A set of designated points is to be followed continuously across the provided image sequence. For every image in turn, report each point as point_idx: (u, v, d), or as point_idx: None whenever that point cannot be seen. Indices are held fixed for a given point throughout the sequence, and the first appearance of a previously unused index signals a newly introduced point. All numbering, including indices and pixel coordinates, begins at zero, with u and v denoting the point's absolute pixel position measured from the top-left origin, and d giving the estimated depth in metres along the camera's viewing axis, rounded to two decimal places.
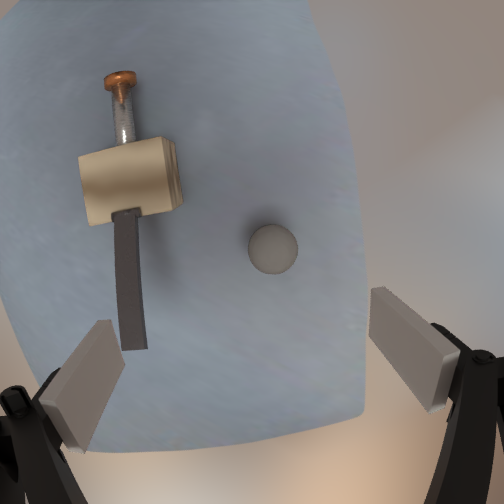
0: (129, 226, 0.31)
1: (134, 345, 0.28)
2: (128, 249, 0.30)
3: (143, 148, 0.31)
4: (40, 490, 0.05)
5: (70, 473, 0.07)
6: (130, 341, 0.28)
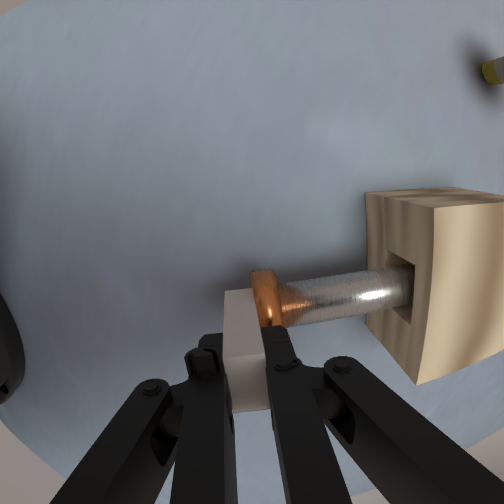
0: None
1: None
2: None
3: (447, 249, 0.13)
4: (194, 462, 0.06)
5: (233, 445, 0.09)
6: None
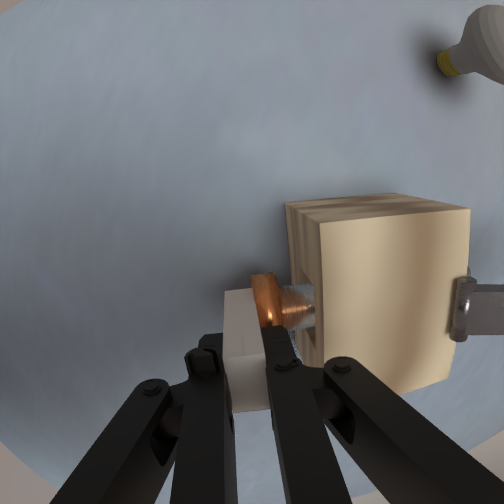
0: (495, 304, 0.12)
1: None
2: None
3: (343, 270, 0.13)
4: (194, 462, 0.06)
5: (233, 445, 0.09)
6: None
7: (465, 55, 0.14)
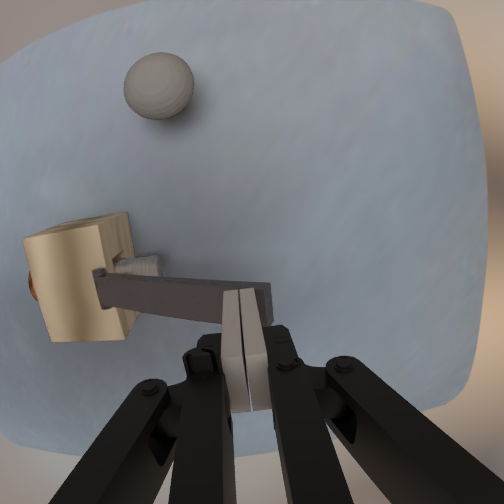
0: (109, 286, 0.22)
1: (258, 305, 0.17)
2: (132, 291, 0.21)
3: (34, 260, 0.23)
4: (193, 462, 0.06)
5: (231, 445, 0.09)
6: None
7: None
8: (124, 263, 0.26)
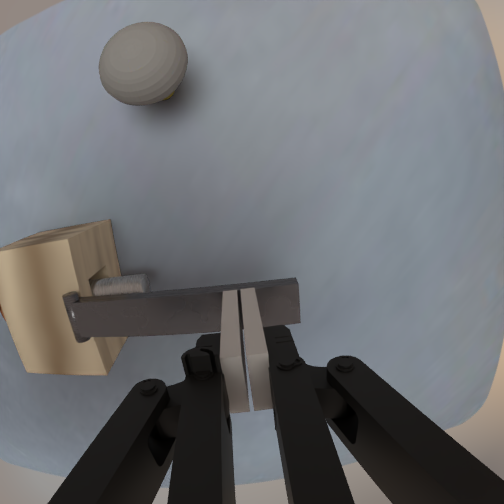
0: (92, 312, 0.17)
1: (291, 301, 0.17)
2: (126, 313, 0.17)
3: (1, 280, 0.18)
4: (192, 462, 0.06)
5: (230, 445, 0.09)
6: (284, 308, 0.17)
7: None
8: (104, 284, 0.21)
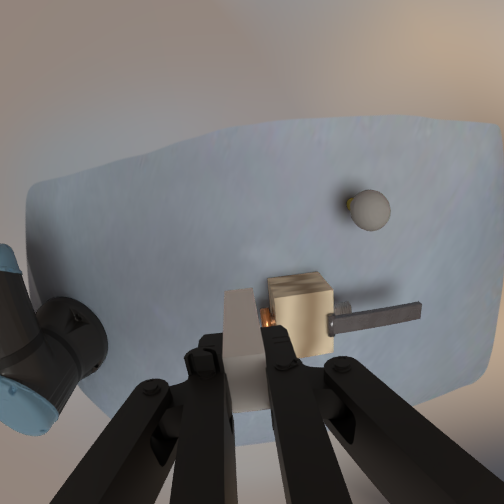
0: (344, 321, 0.42)
1: (418, 310, 0.42)
2: (360, 320, 0.42)
3: (282, 311, 0.42)
4: (194, 462, 0.06)
5: (233, 445, 0.09)
6: (416, 313, 0.42)
7: None
8: None
